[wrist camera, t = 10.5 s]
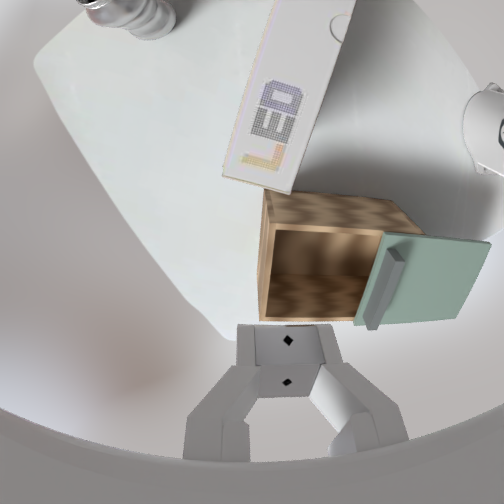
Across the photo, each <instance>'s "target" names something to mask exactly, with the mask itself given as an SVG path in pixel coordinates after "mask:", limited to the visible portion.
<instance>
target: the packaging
mask: <svg viewBox="0 0 504 504" xmlns="http://www.w3.org/2000/svg"><path fill="white" fill-rule="evenodd" d="M356 1H357V0H274V3H273V6H272V9H271V11H270V14H269V17H268V20H267V23H266V26H265V28H264V31H263V34H262V37H261V40H260V43H259V46H258V49H257V52H256V55H255V58H254V61H253V65H252V68H251V71H250V74H249V77H248V80H247V84H246V87H245V90H244V93H243V97H242V100H241V103H240V107H239V110H238V113H237V117H236V120H235V124H234V127H233V131H232V134H231V138H230V141H229V145H228V149H227V152H226V156H225V160H224V163H223V174H222V176H223V178H227V179H231V180H235V181H239V182H243V183H247V184H251V185H255V186H258V187H262V188H266V189H269V190H273V191H277V192H280V193H284V194H287V195H289V194H291V190H292V187H293V185H294V182H295V179H296V176H297V173H298V171H299V168H300V165H301V162H302V159H303V157H304V154H305V151H306V148H307V145H308V143H309V140H310V137H311V134H312V131H313V128H314V126H315V123H316V120H317V117H318V114H319V111H320V108H321V106H322V103H323V100H324V97H325V94H326V91H327V88H328V85H329V82H330V79H331V76H332V74H333V71H334V68H335V65H336V62H337V59H338V56H339V53H340V50H341V47H342V44H343V41H344V38H345V35H346V32H347V29H348V26H349V23H350V20H351V17H352V14H353V11H354V7H355V4H356Z"/></svg>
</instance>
